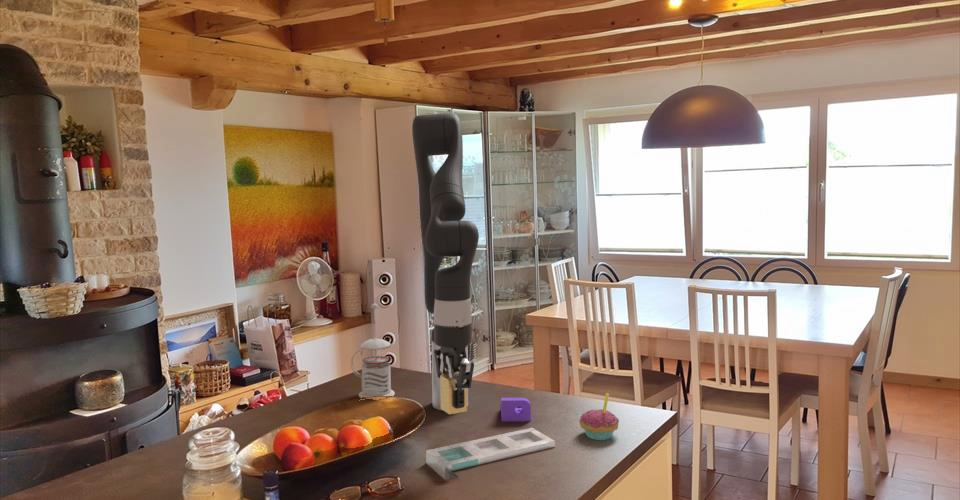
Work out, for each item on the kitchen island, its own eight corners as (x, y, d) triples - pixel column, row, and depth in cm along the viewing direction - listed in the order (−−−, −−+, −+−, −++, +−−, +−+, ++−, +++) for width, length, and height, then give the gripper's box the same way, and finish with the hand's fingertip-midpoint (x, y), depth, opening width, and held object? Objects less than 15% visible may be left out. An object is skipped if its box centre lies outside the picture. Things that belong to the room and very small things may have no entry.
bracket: (530, 428, 163) (530, 400, 162) (501, 428, 163) (501, 400, 162) (527, 411, 175) (527, 384, 174) (500, 411, 175) (500, 385, 174)
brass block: (440, 408, 141) (440, 375, 140) (458, 405, 143) (457, 372, 142) (449, 414, 138) (448, 380, 137) (467, 411, 139) (466, 377, 139)
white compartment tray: (426, 463, 143) (425, 450, 143) (532, 439, 156) (532, 427, 155) (445, 480, 135) (444, 466, 135) (555, 453, 148) (555, 441, 147)
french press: (392, 399, 184) (390, 306, 181) (348, 400, 184) (345, 307, 181) (397, 388, 193) (395, 300, 191) (355, 388, 194) (353, 300, 191)
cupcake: (620, 437, 156) (621, 385, 155) (615, 451, 148) (616, 397, 147) (582, 432, 159) (583, 382, 158) (575, 446, 151) (576, 393, 150)
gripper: (421, 316, 143) (422, 397, 145) (451, 329, 130) (452, 418, 132) (454, 312, 146) (455, 392, 148) (486, 325, 134) (487, 411, 136)
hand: (453, 403), depth 140 cm, fingers closed on brass block, 4 cm apart
